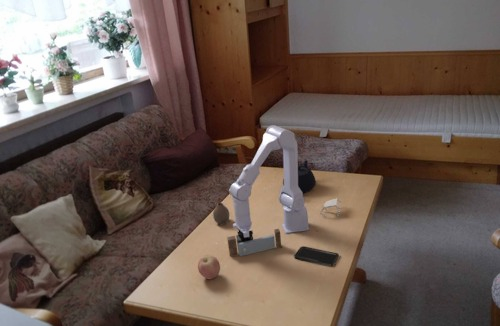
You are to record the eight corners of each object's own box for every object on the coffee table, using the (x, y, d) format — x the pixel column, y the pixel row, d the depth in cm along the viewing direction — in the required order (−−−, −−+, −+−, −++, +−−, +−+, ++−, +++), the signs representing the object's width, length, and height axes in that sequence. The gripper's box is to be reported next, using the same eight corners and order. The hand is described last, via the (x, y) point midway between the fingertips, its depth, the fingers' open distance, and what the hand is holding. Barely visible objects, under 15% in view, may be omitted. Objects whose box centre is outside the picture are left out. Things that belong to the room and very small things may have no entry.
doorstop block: (252, 243, 180) (251, 232, 178) (254, 249, 176) (253, 238, 174) (237, 246, 179) (236, 235, 177) (238, 251, 175) (237, 240, 173)
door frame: (280, 244, 177) (278, 228, 175) (281, 247, 175) (280, 231, 173) (229, 252, 175) (227, 237, 173) (229, 256, 173) (227, 240, 170)
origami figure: (337, 220, 190) (337, 210, 188) (318, 217, 194) (318, 206, 193) (347, 207, 200) (347, 197, 198) (329, 204, 204) (328, 194, 202)
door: (274, 245, 176) (273, 234, 175) (276, 248, 174) (275, 237, 173) (239, 254, 173) (237, 243, 171) (240, 257, 171) (239, 246, 169)
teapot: (308, 201, 208) (307, 177, 204) (276, 198, 214) (274, 174, 210) (322, 179, 229) (321, 156, 225) (292, 176, 235) (291, 154, 231)
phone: (301, 245, 174) (339, 253, 167) (301, 248, 174) (339, 256, 167) (293, 256, 168) (332, 265, 160) (293, 259, 168) (332, 268, 161)
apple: (196, 274, 164) (193, 255, 161) (216, 267, 167) (214, 249, 164) (203, 286, 158) (200, 266, 155) (224, 279, 160) (221, 260, 157)
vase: (228, 226, 194) (225, 207, 191) (212, 226, 196) (209, 207, 192) (231, 218, 200) (229, 200, 197) (216, 218, 202) (214, 200, 199)
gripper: (229, 205, 178) (233, 236, 183) (234, 223, 165) (237, 256, 170) (247, 203, 179) (250, 233, 184) (253, 220, 165) (256, 252, 170)
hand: (245, 244), depth 177 cm, fingers closed on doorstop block, 4 cm apart
